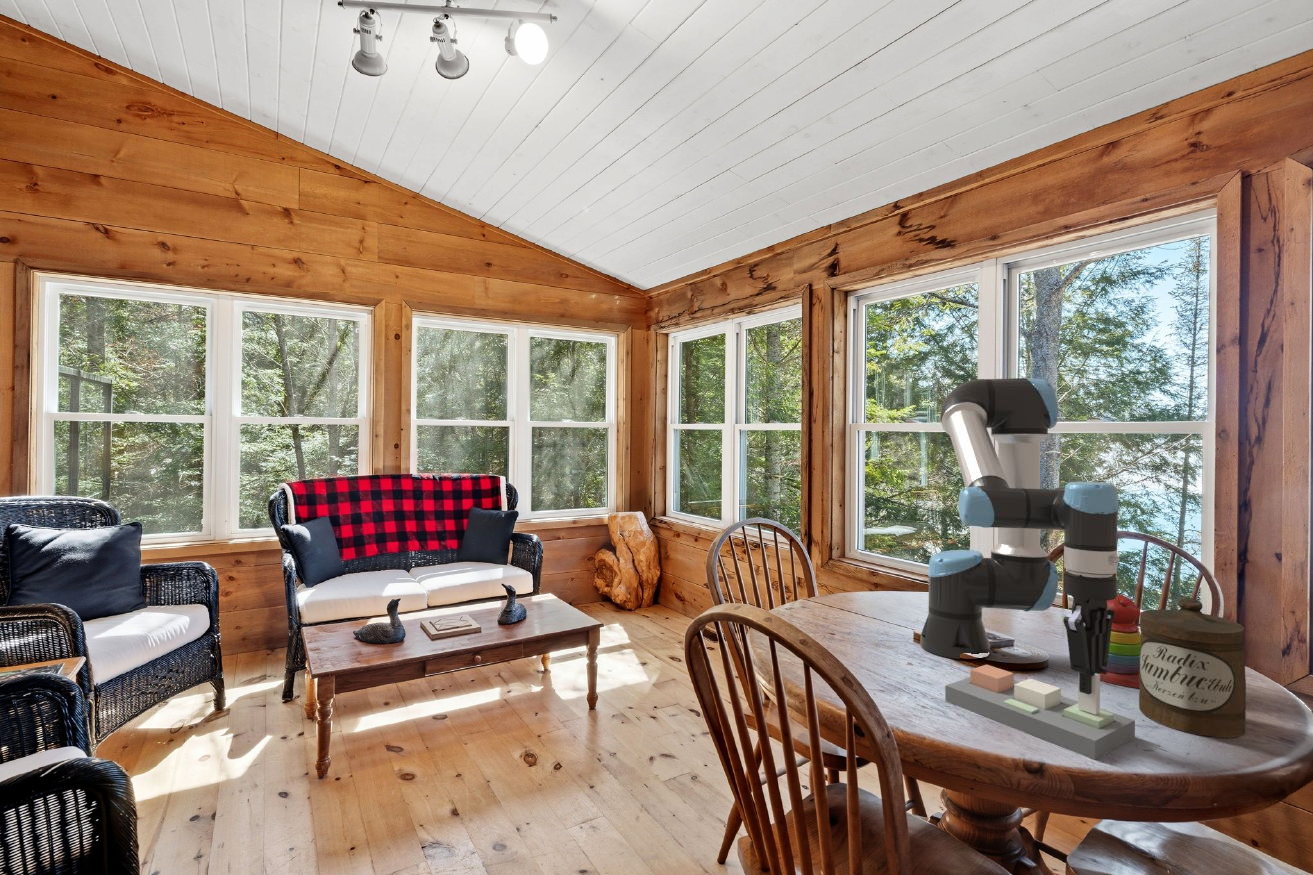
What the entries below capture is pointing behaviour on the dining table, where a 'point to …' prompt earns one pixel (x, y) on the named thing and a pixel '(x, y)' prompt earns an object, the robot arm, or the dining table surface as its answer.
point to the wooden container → (1193, 671)
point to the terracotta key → (992, 678)
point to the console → (1042, 719)
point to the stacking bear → (1123, 644)
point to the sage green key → (1089, 717)
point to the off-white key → (1037, 694)
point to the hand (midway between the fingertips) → (1088, 710)
